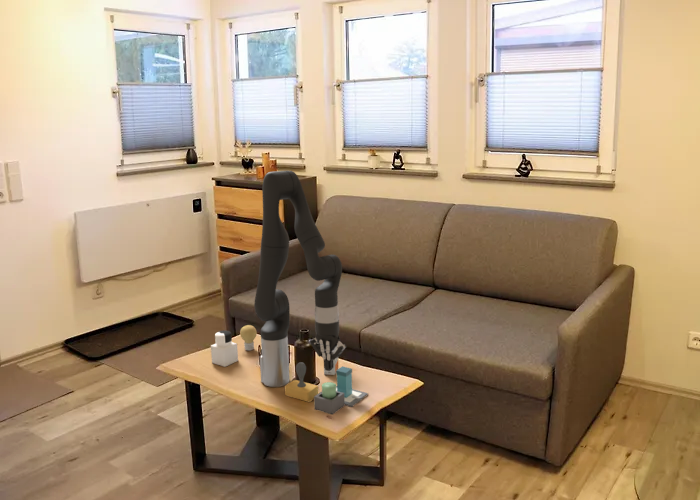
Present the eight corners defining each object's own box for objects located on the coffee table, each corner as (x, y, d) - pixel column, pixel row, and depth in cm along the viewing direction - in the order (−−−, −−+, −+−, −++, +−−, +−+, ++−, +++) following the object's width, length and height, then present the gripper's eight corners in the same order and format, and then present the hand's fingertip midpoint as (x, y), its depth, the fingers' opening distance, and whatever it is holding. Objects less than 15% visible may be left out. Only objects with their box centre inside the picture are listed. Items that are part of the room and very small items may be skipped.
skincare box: (335, 375, 236) (334, 344, 233) (323, 374, 237) (322, 343, 234) (339, 368, 242) (338, 337, 239) (327, 367, 243) (326, 337, 240)
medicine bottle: (225, 356, 254) (223, 327, 252) (238, 360, 250) (236, 331, 247) (211, 363, 249) (209, 333, 246) (224, 367, 245) (222, 337, 242)
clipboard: (321, 398, 219) (321, 395, 218) (337, 386, 227) (337, 384, 227) (351, 406, 212) (351, 404, 212) (367, 394, 221) (367, 391, 220)
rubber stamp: (318, 395, 221) (317, 362, 218) (308, 402, 216) (307, 368, 213) (294, 389, 226) (293, 356, 223) (284, 395, 221) (283, 362, 218)
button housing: (314, 409, 211) (314, 396, 210) (326, 400, 217) (326, 388, 216) (332, 414, 208) (332, 401, 206) (344, 405, 213) (344, 392, 212)
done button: (319, 397, 211) (318, 386, 210) (327, 392, 214) (327, 381, 213) (331, 401, 208) (330, 389, 207) (339, 395, 212) (338, 384, 211)
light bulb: (260, 349, 261) (259, 325, 259) (248, 353, 257) (246, 329, 254) (250, 345, 265) (249, 321, 263) (238, 349, 261) (236, 326, 259)
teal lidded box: (336, 395, 219) (336, 370, 217) (342, 391, 222) (342, 366, 220) (346, 398, 217) (345, 372, 215) (352, 393, 220) (352, 368, 218)
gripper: (302, 318, 205) (305, 369, 209) (338, 325, 198) (339, 378, 203) (316, 311, 212) (318, 361, 216) (351, 318, 205) (352, 369, 209)
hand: (328, 369), depth 209 cm, fingers closed
